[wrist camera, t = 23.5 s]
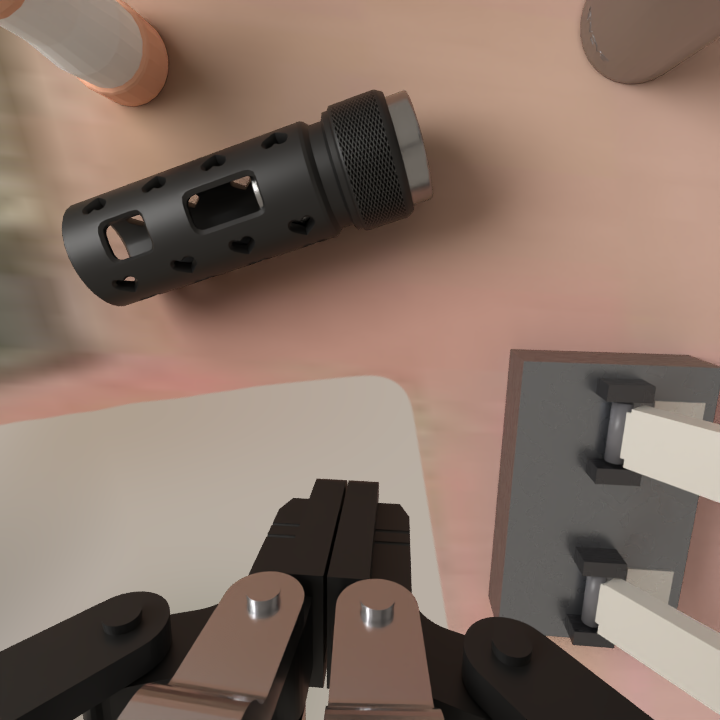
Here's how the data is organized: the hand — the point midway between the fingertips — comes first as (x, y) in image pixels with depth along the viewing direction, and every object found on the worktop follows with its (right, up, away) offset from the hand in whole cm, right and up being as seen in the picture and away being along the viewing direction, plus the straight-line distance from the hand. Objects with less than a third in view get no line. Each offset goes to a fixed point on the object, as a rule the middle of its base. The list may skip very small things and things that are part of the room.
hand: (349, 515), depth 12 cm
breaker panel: (+22, -9, +36) cm, 43 cm away
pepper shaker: (-20, +30, +31) cm, 48 cm away
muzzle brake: (-8, +18, +33) cm, 38 cm away
